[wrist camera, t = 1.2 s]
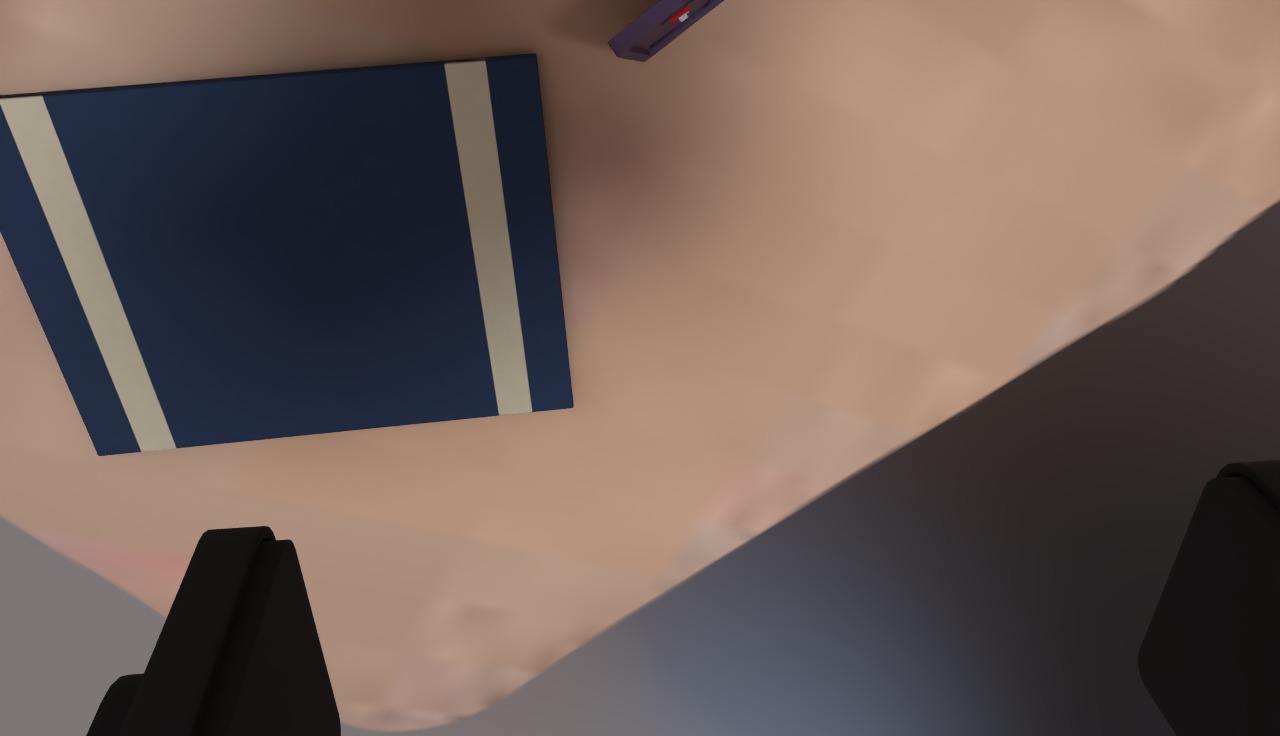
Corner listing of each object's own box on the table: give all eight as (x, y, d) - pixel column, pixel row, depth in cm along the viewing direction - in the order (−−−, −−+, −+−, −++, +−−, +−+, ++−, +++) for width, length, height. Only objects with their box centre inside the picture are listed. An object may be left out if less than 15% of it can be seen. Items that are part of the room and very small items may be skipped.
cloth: (536, 52, 28) (536, 57, 27) (573, 401, 34) (573, 408, 34) (-50, 98, 27) (-57, 103, 26) (102, 449, 33) (98, 457, 33)
